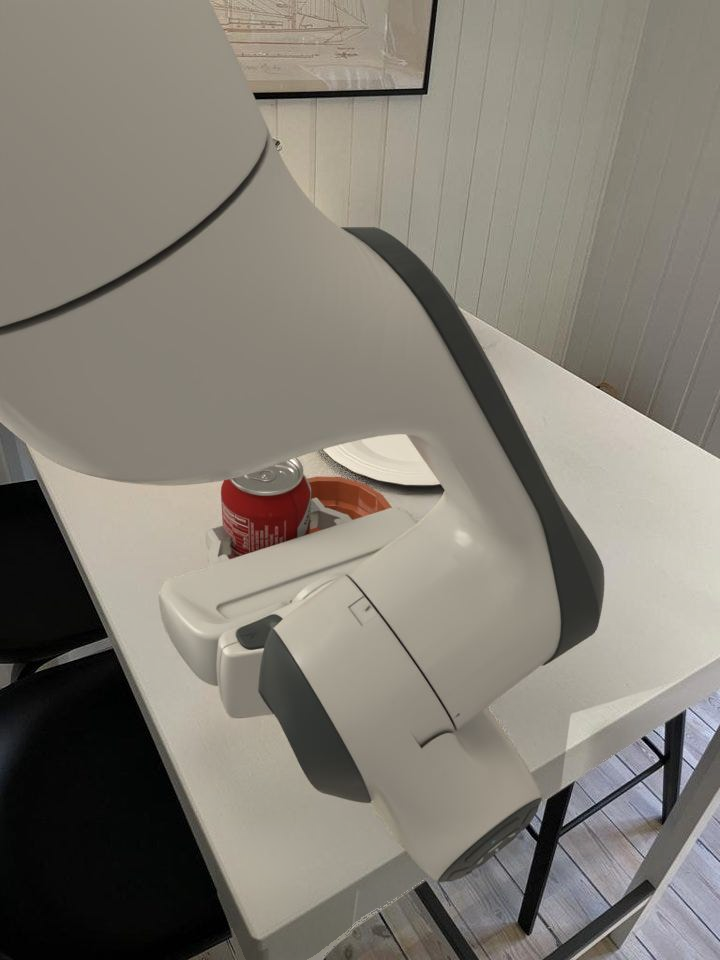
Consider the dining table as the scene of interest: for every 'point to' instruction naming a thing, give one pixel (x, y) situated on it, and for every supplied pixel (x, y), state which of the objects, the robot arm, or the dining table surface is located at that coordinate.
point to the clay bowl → (347, 497)
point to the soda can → (266, 507)
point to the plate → (384, 460)
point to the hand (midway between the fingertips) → (261, 520)
